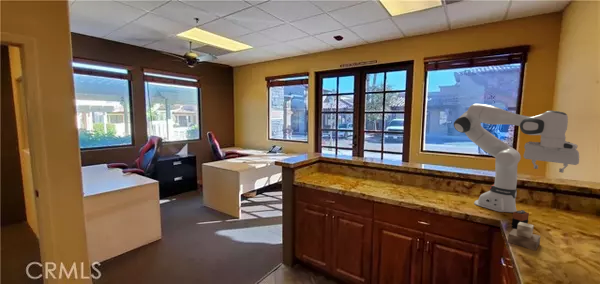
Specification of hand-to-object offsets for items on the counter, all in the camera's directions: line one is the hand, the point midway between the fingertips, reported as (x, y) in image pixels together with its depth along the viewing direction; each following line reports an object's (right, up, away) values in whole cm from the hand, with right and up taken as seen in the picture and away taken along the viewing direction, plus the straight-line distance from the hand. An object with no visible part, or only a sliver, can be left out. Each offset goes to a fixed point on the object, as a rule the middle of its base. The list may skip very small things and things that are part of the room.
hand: (548, 170), depth 132 cm
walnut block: (-20, -34, -9) cm, 40 cm away
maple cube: (-20, -30, -9) cm, 37 cm away
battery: (-8, -32, +7) cm, 34 cm away
